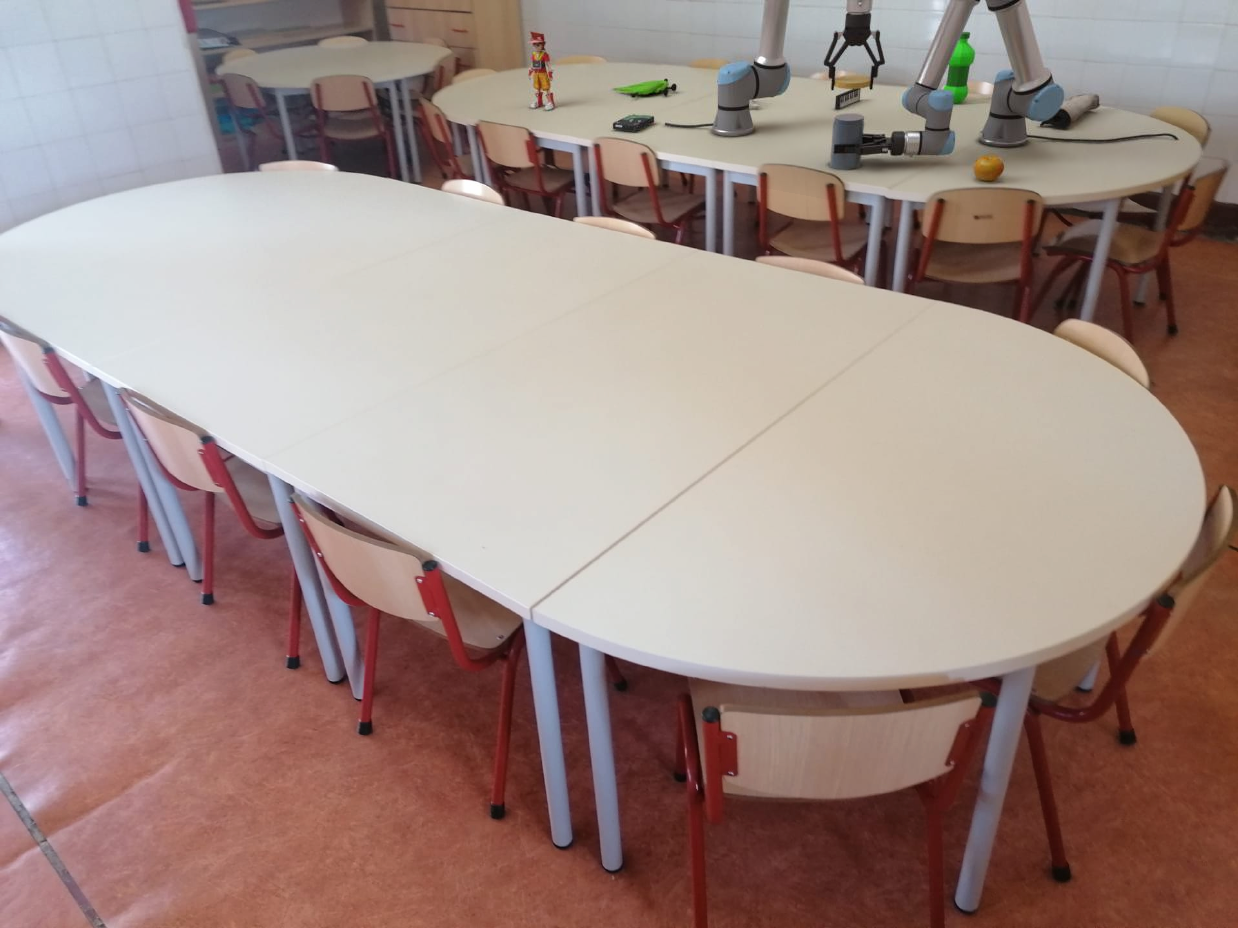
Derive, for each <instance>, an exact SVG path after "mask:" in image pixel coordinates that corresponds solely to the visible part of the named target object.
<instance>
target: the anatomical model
mask: <svg viewBox="0 0 1238 928" xmlns="http://www.w3.org/2000/svg"><path fill="white" fill-rule="evenodd" d="M754 101H755V99H753V100H749V109H758V108H759V107H760V105H759V104H758V103H754Z"/></svg>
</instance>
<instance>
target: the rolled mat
mask: <svg viewBox="0 0 1238 928" xmlns="http://www.w3.org/2000/svg"><path fill="white" fill-rule="evenodd" d="M1100 106H1101V103H1100V97H1099V94H1096V93H1083V94H1077V95H1074V96H1071V97H1070V98H1069V100H1067V101H1064V102H1063V104H1062V105H1061V106H1060V109H1059V111H1058V112H1057V113H1056V114H1055V115H1054V116H1053V117H1052V118H1050V119H1048V120H1046V121H1043V122H1041V123H1040V124H1039V126H1040V127H1043V126H1045V125H1051V126H1052V127H1053V128H1055V129H1062V130H1065V129H1068V128H1069V127H1070V126H1071V125H1072V124H1074V122H1075V121H1076V120H1077V119H1079V117H1081V116H1082V115H1083V114H1084V113H1085V112H1087V111H1091V110H1096V109H1099V107H1100Z"/></svg>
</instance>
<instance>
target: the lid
mask: <svg viewBox="0 0 1238 928" xmlns="http://www.w3.org/2000/svg"><path fill="white" fill-rule="evenodd" d="M870 84H871V78H870V76H867V75H859V74H849V75H848V74H846V75H841V76H835V82H834V88H835V87H836V88H839V89H844V90H852V89H860V88H861V89H866V88H869V86H870Z"/></svg>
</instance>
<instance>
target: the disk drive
mask: <svg viewBox="0 0 1238 928" xmlns="http://www.w3.org/2000/svg"><path fill="white" fill-rule="evenodd" d="M654 123H655V116H654V115H647V114H646V115H645V114H629V115H627V116H625V117H623V118H621V119H618V120H617V121H614V122H612V130H616V131H623V132H633V133H635V132H637V131H640V130H643V129H645V128H646V127H649V126H650V125H651V126H652V125H653V124H654Z"/></svg>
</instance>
